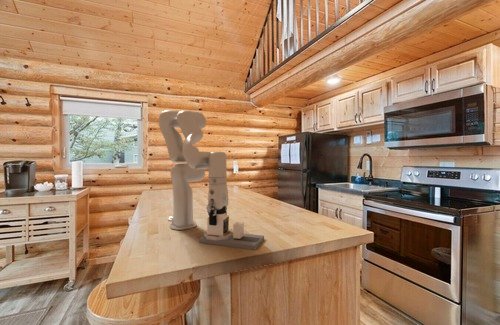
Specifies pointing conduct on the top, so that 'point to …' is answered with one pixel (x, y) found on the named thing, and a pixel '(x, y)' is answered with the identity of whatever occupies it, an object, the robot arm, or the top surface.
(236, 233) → the block
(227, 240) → the grey tray
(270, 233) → the top surface
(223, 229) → the medicine bottle
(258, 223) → the top surface
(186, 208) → the robot arm
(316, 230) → the top surface
